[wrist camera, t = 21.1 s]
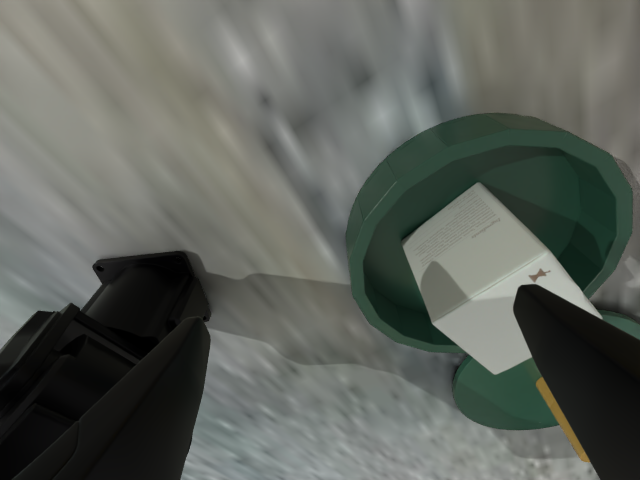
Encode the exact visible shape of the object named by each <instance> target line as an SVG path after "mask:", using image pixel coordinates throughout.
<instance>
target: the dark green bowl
mask: <svg viewBox="0 0 640 480" xmlns="http://www.w3.org/2000/svg"><path fill="white" fill-rule="evenodd" d="M478 182H480V183H482V184H483V185H484V186H485V187H486V188H487V189H488V190H489V191H490V192H491V193H492V194H493V195H494V196H495V197H496V198H497V199H498V200H499V201H500V202H501V203H502V204H503V205H504V206H505V207H506V208H507V209H508V210H509V211H510V212H511V213H512V214H513V215H514V216H515V217H516V218H517V219H518V220H520V221H521V222H522V223H523V224H524V225H525V226H526V227H527V228H528V229H529V230H530V231H531V232H532V233H533V234H534V235H535V236H536V237H537V238H538V239H539V240H540V241H541V242H542V243H543V244H544V245H545V246H546V247H547V248H548V249H549V250H550V251H551V252H552V254H553V255H554V256H555V257H556V259H557V260H558V261H559V263H560V264H561V265H562V266H563V268H564V269H565V270H566V272H567V273H568V274H569V276H570V277H571V278H572V279H573V281H574V282H575V283H576V284H577V286H578V287H579V288H580V289H581V291H582V292H583V293H584V295H585V296H586V297H587V298H588V299H589V298H590V297H591V296H592V295H593V294H594V293H595V292H596V290H597V289H598V288H599V287H600V286H601V285H602V284H603V283H604V282H605V281H606V279H607V278H608V277H609V276H610V275H611V274H612V273H613V272H614V270H615V269H616V267H617V265H618V262H619V260H620V258H621V256H622V254H623V251H624V249H625V247H626V245H627V243H628V241H629V238H630V236H631V234H632V222H633V192H632V188H631V187H630V185H629V183H628V182H627V180H626V178H625V177H624V175H623V173H622V172H621V170H620V168H619V167H618V165H617V163H616V162H615V160H614V158H613V157H612V155H610V154H609V153H608V152H606V151H604V150H602V149H600V148H598V147H597V146H595V145H593V144H591V143H589V142H587V141H585V140H583V139H581V138H579V137H577V136H575V135H574V134H572V133H570V132H568V131H565V130H563V129H561V128H558V127H556V126H554V125H551V124H549V123H547V122H545V121H542V120H540V119H538V118H535V117H530V116H521V115H517V114H506V113H487V114H476V115H471V116H466V117H460V118H457V119H454V120H451V121H448V122H444V123H441V124H439V125H437V126H435V127H432V128H430V129H428V130H426V131H424V132H422V133H420V134H418V135H417V136H415V137H413V138H412V139H410V140H408V141H407V142H405V143H404V144H403V145H401V146H400V147H399V148H397V149H396V150H395V151H394V152H392V153H391V154H390V155H389V156H388V157H387V158H386V159H385V160H384V161H383V162H382V163H381V164H380V165H379V166H378V167H377V168H376V169H375V170H374V172H373V173H372V174H371V175H370V177H369V178H368V179H367V180H366V182H365V184H364V185H363V187H362V189H361V190H360V192H359V193H358V196H357V198H356V200H355V202H354V204H353V207H352V210H351V213H350V217H349V220H348V226H347V231H346V246H347V255H348V266H349V274H350V281H351V288H352V295H353V298H354V299H355V301H356V302H357V304H358V306H359V307H360V309H361V311H362V312H363V314H364V315H365V317H366V319H367V320H368V322H369V323H370V324H371V325H372V326H374V327H375V328H377V329H378V330H379V331H381V332H382V333H384V334H385V335H387V336H388V337H389V338H391V339H392V340H394V341H395V342H397V343H400V344H404V345H407V346H411V347H414V348H418V349H421V350H425V351H428V352H443V353H467V352H465V351H464V350H463V349H462V348H461V347H459V346H458V345H457V344H456V343H455V342H453V341H452V340H451V339H450V338H448V337H447V336H446V335H445V334H444V333H442V332H441V331H440V330H439V329H438V328H436V327H435V326H434V325H433V324H432V322H431V319H430V316H429V313H428V311H427V308H426V305H425V303H424V300H423V298H422V295H421V293H420V290H419V287H418V285H417V282H416V280H415V277H414V275H413V272H412V270H411V267H410V264H409V262H408V259H407V257H406V254H405V252H404V249H403V247H402V244H401V241H402V240H403V239H404V238H406V237H407V236H408V235H410V234H411V233H412V232H413V231H415V230H416V229H417V228H419V227H420V226H421V225H423V224H424V223H425V222H426V221H428V220H429V219H430V218H432V217H433V216H434V215H436V214H437V213H438V212H439V211H441V210H442V209H443V208H444V207H446V206H447V205H448V204H450V203H451V202H452V201H453V200H455V199H456V198H457V197H459V196H460V195H461V194H463V193H464V192H465V191H467V190H468V189H469V188H471V187H472V186H473V185H475V184H476V183H478Z"/></svg>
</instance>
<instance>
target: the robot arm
mask: <svg viewBox="0 0 640 480" xmlns="http://www.w3.org/2000/svg"><path fill="white" fill-rule="evenodd" d="M176 257H177V258H180V259H181V260H178V259H177V258H176ZM102 267H103V268H102ZM93 270H94V271H95V273H96V275H97V276H98V278H99V279H100V281H101V283H102V285H101V286H100V288H99V289H98V290H97V291H96V293H95V294H94V295H93V296H92V298H91V299H90V300H89V301H88V302H87V304H86V305H85V306H84V307H83V309H82V310H81V311H80V308H79V307H77V306H75V305H74V304H72V303H70V304H69V305H67V306H66V307H65V308H64V309H62V310H61V311H60V312H58V311H57V312H55V311H53V312H47V311H37V312H36V313H35V314H34V315H32V316H31V317H30V318H29V319H28V321H27V322H26V323H25V324H24V325H23V326H22V327H21V328H20V329H19V330H18V331H17V332H16V333H15V334H14V335H13V336H12V337H11V338H10V339H9V340H8V342H7V343H6V344H5V345H4V346H3V347H2V348H1V350H0V480H180V479H181V475H182V471H183V467H184V463H185V460H186V457H187V454H188V452H189V449H190V445H191V441H192V434H193V429H194V425H195V422H196V418H197V414H198V410H199V406H200V403H201V398H202V394H203V389H204V383H205V376H206V370H207V363H208V356H209V349H210V342H211V339H210V334H209V332H208V330H207V328H206V325H205V323H204V322H207V321H209V319H210V317H211V312H210V310H209V308H208V301H207V298H206V296H205V294H204V291H203V289H202V286H201V284H200V282H199V279H198V278H197V277H195V274H194V272H193V270H192V267H191V265H190V263H189V260H188V258H187V256H186V254H185V253H183V252H181V251H174V252H164V253H155V254H146V255H137V256H128V257H119V258H110V259H101V260H97V261H96V262H95V264H94V265H93ZM513 313H514V316H515V318H516V321H517V323H518V325H519V328H520V330H521V332H522V335H523V337H524V339H525V342H526V344H527V346H528V348H529V351H530V353H531V355H532V358H533V360H534V362H535V364H536V366H537V368H538V370H539V372H540V374H541V375H542V377H543V379H544V381H545V382H546V384H547V386H548V388H549V390H550V391H551V393H552V395H553V397H554V398H555V400H556V402H557V404H558V405H559V407H560V409H561V411H562V413H563V414H564V416H565V418H566V420H567V421H568V423H569V425H570V427H571V428H572V430H573V432H574V434H575V436H576V437H577V439H578V441H579V443H580V444H581V446H582V448H583V450H584V451H585V453H586V455H587V457H588V459H589V460H590V462H591V464H592V466H593V467H594V469H595V471H596V473H597V474H598V476H599V478H600V480H640V340H639V339H637V338H636V337H634V336H632V335H630V334H628V333H626V332H625V331H623V330H621V329H619V328H617V327H615V326H613V325H612V324H610V323H608V322H606V321H604V320H602V319H600V318H599V317H597V316H595V315H593V314H591V313H589V312H588V311H586V310H584V309H582V308H580V307H578V306H576V305H575V304H573V303H571V302H569V301H567V300H565V299H564V298H562V297H560V296H558V295H556V294H554V293H552V292H551V291H549V290H547V289H545V288H543V287H541V286H539V285H537V284H526V285H520V286H519V287H518V289H517V293H516V297H515V300H514V304H513Z"/></svg>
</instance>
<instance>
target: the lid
mask: <svg viewBox="0 0 640 480" xmlns="http://www.w3.org/2000/svg"><path fill="white" fill-rule="evenodd" d="M596 310H597V311H598V312H599V313H600V315H601V316H602V318H603V319H602V320H604V321H606V322H608V323H610V324H612V325H613V326H615V327H617V328H619V329H621V330H623V331H625V332H626V333H628V334H630V335H632V336H634V337H636V338H637V339H639V340H640V324H639V323H638V322H636V321H635V320H634V319H632V318H630V317H627V316H625V315H623V314H619V313H616V312H612V311H606V310H598V309H596ZM452 392H453V397H454V400H455V402H456V404H457V407H458V408H459V410H460V411H461V412H462V413H463V414H464V415H465V416H466V417H467V418H469V419H471V420H472V421H474V422H476V423H479V424H481V425H484V426H487V427H492V428H497V429H505V430H531V429H541V428H547V427H552V426H557V425H560V427H561V428H562V430H563V432H564V433H565V435H566V436H567V438H568V440H569V441H570V443H571V445H572V446H573V448H574V450H575V451H576V453H577V455H578V456H579V458H580V459H581V460H582V461H584V462H590V460H589V459H588V457H587V455H586V453H585V451H584V450H583V448H582V446H581V444H580V443H579V441H578V439H577V437H576V436H575V434H574V432H573V430H572V428H571V427H570V425H569V423H568V421H567V420H566V418H565V416H564V414H563V413H562V411H561V409H560V407H559V405H558V404H557V402H556V400H555V398H554V397H553V395H552V393H551V391H550V390H549V388H548V386H547V384H546V382H545V381H544V379H543V377H542V375H541V374H540V372H539V370H538V368H537V366H536V364H535V362H534V360H533V358H532V357H531V358H529V359H527V360H525V361H523V362H521V363H520V364H518V365H516V366H514V367H512V368H510V369H508V370H505V371H503V372H501V373H499V374H496V375H495V374H493V373H491V372H490V371H489V370H488V369H486V368H485V367H484V366H483V365H481V364H480V363H479V362H478V361H476V360H475V359H474V358H473V357H472V356H470V355H468V356H467V357H466V359H465V360H464V361H463V362H462V364H461V365H460V367H459V368H458V370H457V372H456V374H455V376H454V380H453V386H452Z"/></svg>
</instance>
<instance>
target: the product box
mask: <svg viewBox="0 0 640 480" xmlns="http://www.w3.org/2000/svg"><path fill="white" fill-rule="evenodd" d="M401 244H402V247H403V249H404V252H405V254H406V257H407V259H408V262H409V264H410V267H411V270H412V272H413V275H414V277H415V280H416V282H417V285H418V287H419V290H420V293H421V295H422V298H423V300H424V303H425V305H426V308H427V311H428V313H429V316H430V319H431V322H432V324H433V325H434V326H435V327H436V328H438V329H439V330H440V331H441V332H442V333H444V334H445V335H446V336H447V337H448V338H450V339H451V340H452V341H453V342H455V343H456V344H457V345H458V346H459V347H461V348H462V349H463V350H464V351H465V352H467V353H468V354H469V355H470V356H472V357H473V358H474V359H475V360H476V361H478V362H479V363H480V364H481V365H483V366H484V367H485V368H486V369H488V370H489V371H490V372H491V373H493V374H495V375H496V374H499V373H501V372H503V371H505V370H508V369H510V368H512V367H514V366H516V365H518V364H520V363H521V362H523V361H525V360H527V359H529V358H531V357H532V355H531V353H530V351H529V348H528V346H527V344H526V342H525V339H524V337H523V335H522V332H521V330H520V328H519V325H518V323H517V321H516V318H515V316H514V313H513V304H514V300H515V297H516V293H517V289H518V287H519V286H520V285H526V284H537V285H539V286H541V287H543V288H545V289H547V290H549V291H551V292H552V293H554V294H556V295H558V296H560V297H562V298H564V299H565V300H567V301H569V302H571V303H573V304H575V305H576V306H578V307H580V308H582V309H584V310H586V311H588V312H589V313H591V314H593V315H595V316H597V317H599V318H600V319H603V318H602V316H601V315H600V313H599V312H598V311H597V310H596V309H595V307H594V306H593V305H592V303H591V302H590V301H589V300H588V298H587V297H586V296H585V295H584V293H583V292H582V291H581V289H580V288H579V287H578V286H577V284H576V283H575V282H574V281H573V279H572V278H571V277H570V276H569V274H568V273H567V272H566V270H565V269H564V268H563V266H562V265H561V264H560V263H559V261H558V260H557V259H556V257H555V256H554V255H553V254H552V252H551V251H550V250H549V249H548V248H547V247H546V246H545V245H544V244H543V243H542V242H541V241H540V240H539V239H538V238H537V237H536V236H535V235H534V234H533V233H532V232H531V231H530V230H529V229H528V228H527V227H526V226H525V225H524V224H523V223H522V222H521V221H520V220H518V219H517V218H516V217H515V216H514V215H513V214H512V213H511V212H510V211H509V210H508V209H507V208H506V207H505V206H504V205H503V204H502V203H501V202H500V201H499V200H498V199H497V198H496V197H495V196H494V195H493V194H492V193H491V192H490V191H489V190H488V189H487V188H486V187H485V186H484V185H483V184H482V183H480V182H478V183H476V184H475V185H473V186H472V187H471V188H469V189H468V190H467V191H465V192H464V193H463V194H461V195H460V196H459V197H457V198H456V199H455V200H453V201H452V202H451V203H450V204H448V205H447V206H446V207H444V208H443V209H442V210H441V211H439V212H438V213H437V214H436V215H434V216H433V217H432V218H430V219H429V220H428V221H426V222H425V223H424V224H423V225H421V226H420V227H419V228H417V229H416V230H415V231H413V232H412V233H411V234H410V235H408V236H407V237H406V238H404V239H403V240H402V241H401Z"/></svg>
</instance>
